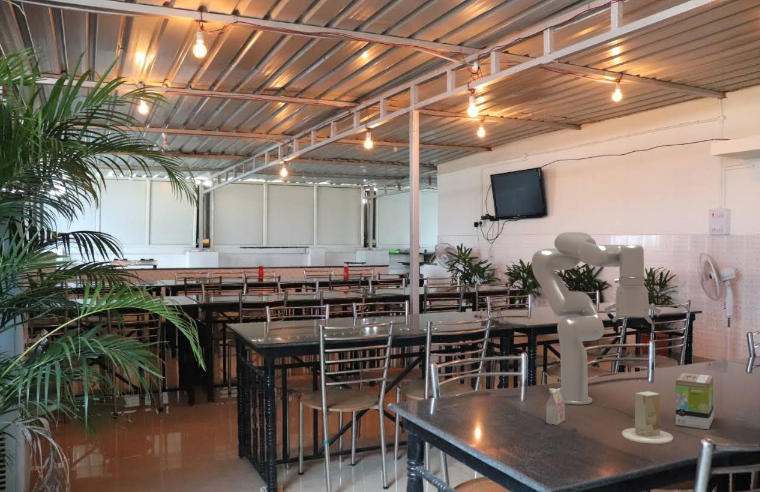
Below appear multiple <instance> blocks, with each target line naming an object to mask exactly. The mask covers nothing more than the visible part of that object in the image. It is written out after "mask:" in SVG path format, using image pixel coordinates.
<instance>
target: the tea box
mask: <svg viewBox="0 0 760 492" xmlns="http://www.w3.org/2000/svg"><path fill="white" fill-rule="evenodd" d="M713 420H714V376H713V375H707V374H699V373H698V374H697V373H688V372H680V374H679V375H678V377H677V378H676V380H675V425H676V426H681V427H686V428H696V429H700V430H701V429H704V430H709V429H710V428H711V425H712V423H713Z"/></svg>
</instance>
